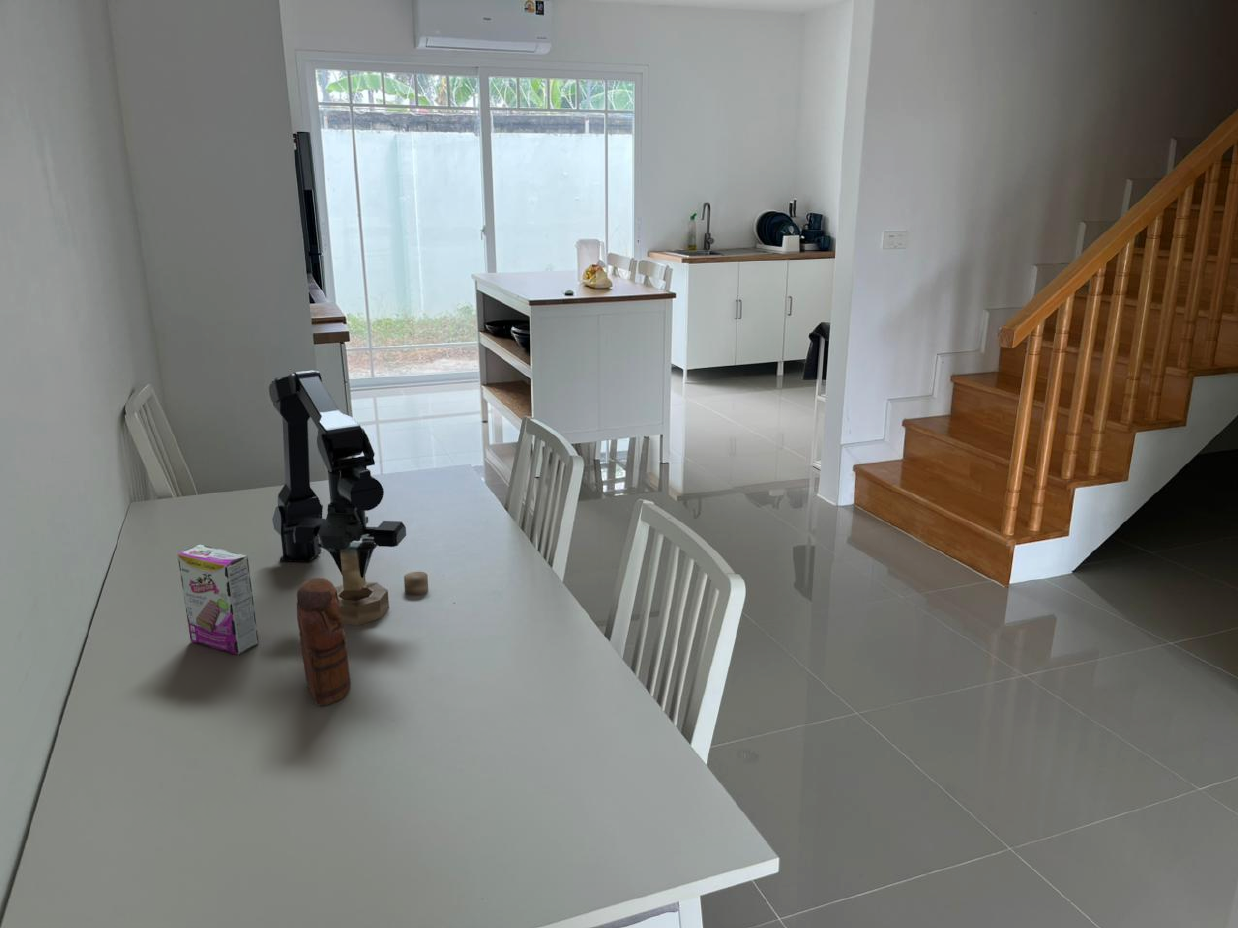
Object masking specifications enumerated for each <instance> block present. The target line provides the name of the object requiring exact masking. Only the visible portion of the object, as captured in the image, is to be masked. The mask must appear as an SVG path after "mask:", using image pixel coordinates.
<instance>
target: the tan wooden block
mask: <svg viewBox="0 0 1238 928" xmlns="http://www.w3.org/2000/svg"><path fill="white" fill-rule="evenodd" d="M361 543H362V542H357V541H353V542H351V543H350V546H349V548H347V549H345V550H340V555H341V566H342V574H341V576H342V585H343V588H344V590H356V591H360V590H361V589H362V588H363V587H364V585H365V584H366V582H367V580H366V575H365V576H364V578H361V574H360V553H359V551H358V549H357V547H358V546H359V545H360V544H361Z"/></svg>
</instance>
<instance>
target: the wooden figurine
mask: <svg viewBox="0 0 1238 928" xmlns="http://www.w3.org/2000/svg"><path fill="white" fill-rule="evenodd" d="M335 587H336V586H335V585H334V584H333V582H332V581H331V580H329V579H327V578H323V577H317V578H310V579H308V580H305V581H304V582H302V584H300V586H299V588H298V589H297V591H296V598H297V599H296V600H297V602H296V619H297V625H298V631H299V633H298V634H299V638H300V649H301V657H302V662H303V667H304V673H305V674H304V675H305V680H306V683H307V685H308V688H309V689H310V692H311V696H312V698H313V700H314V701H315V703H316V704H317V705H320V706H328V705H331V704H333V703H334V702H336V701H340V700H341V699H342V698H343V697H345V696H347V694H348V693H349V692H350V691H351V677H350V676H351V673H350V667H349V657H348V651H347V646H346V645H347V640H346V639H347V638H346V632H345V630H344V628H343V624H342V620H341V616H340V612H341V608H340V606H339V599H338V595H337V590H336V589H335Z"/></svg>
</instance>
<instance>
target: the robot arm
mask: <svg viewBox="0 0 1238 928" xmlns="http://www.w3.org/2000/svg"><path fill="white" fill-rule="evenodd" d="M268 393H269V397H270V400H271V402H272V406H273V408H274V409H275V410H276V411H277V412H278V414H279V415H280V416H281V420H282V434H283V436H282V437H283V455H284V456H283V457H284V475H285V476H284V477H285V480H284V481H285V482H284V483H285V484H284V485H283V487H282V488H281V490H280V491H279V493H278V494H277V506H276V507H275V510H274V512H273V515H272V525H273V529H274V531H276V532H277V533H278V535H280V540H281V550H282V555H281V556H280V557H279V561H280V562H296V563H297V562H298V563H300V562H301V563H305V562H306V563H309V562H311V561H312V560H314V559H315V557H317V556H318V555H319V554H320V552H322V549H324V550H325V551H327V552H328V553H329V554H330V555H331V557H332V559H333V561H334V563H335V565H336V567H337V568H338V570H339V573H340V574H341V575H342V566H341V555H340V550H345V549H347V548H349V546H350V543H351V542H359V541H361V542H360V543H361V544H360V545H359V546H358V547H357V549H358V551H359V553H360V574H361V578H364V576H365V577H366V574H367V572H368V571H367V570H368V568H369V564H370V561H371V559H372V556H373V552H374V550H375V549H376V548H377V547H385V548H394V547H398V546H399V545H400V544H401V542H402V541H403V540H404V539H405V537H406V536H407V527H406V525H405V524H404V522H403V521H396V520H395V521H394V520H392V521H391V520H382V522H381V523H380V524H379V525H378V526H367V524H368V523H369V516H366V512H369V511H371V510H374V509H376V508H377V507H378V506H379V505H380V504H381V502H382V501H383V499H384V494H385V493H384V492H385V491H384V487H383V485H382V483H381V482H380V481H379V480H378V479H377V478H375V477H373V476H372V473H371V470H370V469H369V468H367V467H369V466H374V465H375V464H376V461H375V459H374V458H375V455H376V454H375V451H374V449H373V446H372V444H371V442H370V439H369V436H368V434H367V433H366V431H365V429H364V428H362V427H361V425H360V424H359V422H358V421H357V420H356V419H355V418H354V417H353V416H351V415H347V414H344V413H342V411H341V410H340V408H339V407H338V405H337V404H336V402H335V401H334V398H333V397H332V396H331V394H330V393H329V391H328V389H327V388H326V386H325V385H324V383H323V378H322V376H321V373H320V371H318V370H314V369H311V370H304V371H303V370H302V371H295V372H293V373H290V374H289V375H287V376H281V377H275V378H274V379H273V380H272V381H271V382H270V384H269V385H268ZM310 418H311V421H312V422H313V424H315V427H316V428H317V436H316V445H317V446H316V447H317V450H318V452H319V454H320V457H321V458H322V461H323V463H324V466H325V468H326V469H327V471H326V472H327V478H328V479H327V481H328V490H329V492H328V493H329V501H330V502H329V503H328V504H327V514H326V518H323V509H324V506H323V504H322V503H321V500H320V497H319V496H317V494H316V492H314V490H313V489H312V487H311V476H310V474H311V471H310V451H309V450H310V449H309V446H310V445H309V443H310V442H309V420H310ZM362 454H363V455H362ZM361 455H362V456H361Z"/></svg>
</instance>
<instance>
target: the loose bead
mask: <svg viewBox="0 0 1238 928" xmlns="http://www.w3.org/2000/svg"><path fill="white" fill-rule="evenodd" d="M403 580H404V581H403V582H404V583H403V584H404V593H405V594H406V595H409V596H420V595H421V596H422V595H424V594H426V593H427V592H428V591H429V578H428V573H426V572H424V571H411V572H409V573H405V574H404V576H403Z"/></svg>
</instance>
